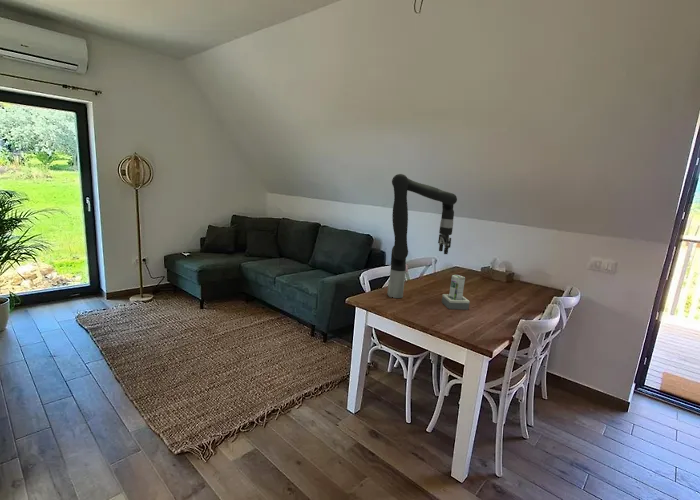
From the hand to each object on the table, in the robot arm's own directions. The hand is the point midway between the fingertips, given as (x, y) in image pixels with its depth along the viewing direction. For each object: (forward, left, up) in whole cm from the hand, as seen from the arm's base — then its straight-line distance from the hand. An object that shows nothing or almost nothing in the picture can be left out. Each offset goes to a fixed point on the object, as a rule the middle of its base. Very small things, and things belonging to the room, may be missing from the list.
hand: (443, 252), depth 227 cm
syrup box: (+7, -11, -26) cm, 29 cm away
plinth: (+7, -11, -30) cm, 33 cm away
